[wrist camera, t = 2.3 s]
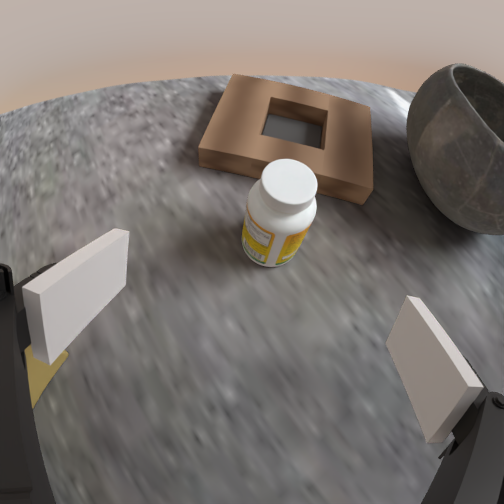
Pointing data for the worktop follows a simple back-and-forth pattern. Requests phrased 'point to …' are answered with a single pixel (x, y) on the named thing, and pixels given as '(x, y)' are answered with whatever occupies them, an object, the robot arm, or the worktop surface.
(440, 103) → the bowl
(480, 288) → the worktop surface
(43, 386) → the cheese
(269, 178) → the supplement bottle
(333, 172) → the well board
